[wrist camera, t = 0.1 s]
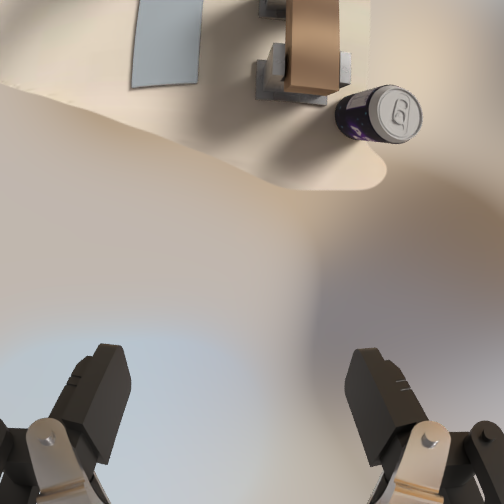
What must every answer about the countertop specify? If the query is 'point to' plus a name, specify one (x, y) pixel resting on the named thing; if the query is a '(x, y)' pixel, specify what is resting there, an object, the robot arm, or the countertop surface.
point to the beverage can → (380, 115)
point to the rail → (312, 47)
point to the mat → (167, 42)
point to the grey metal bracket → (272, 9)
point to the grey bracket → (273, 78)
